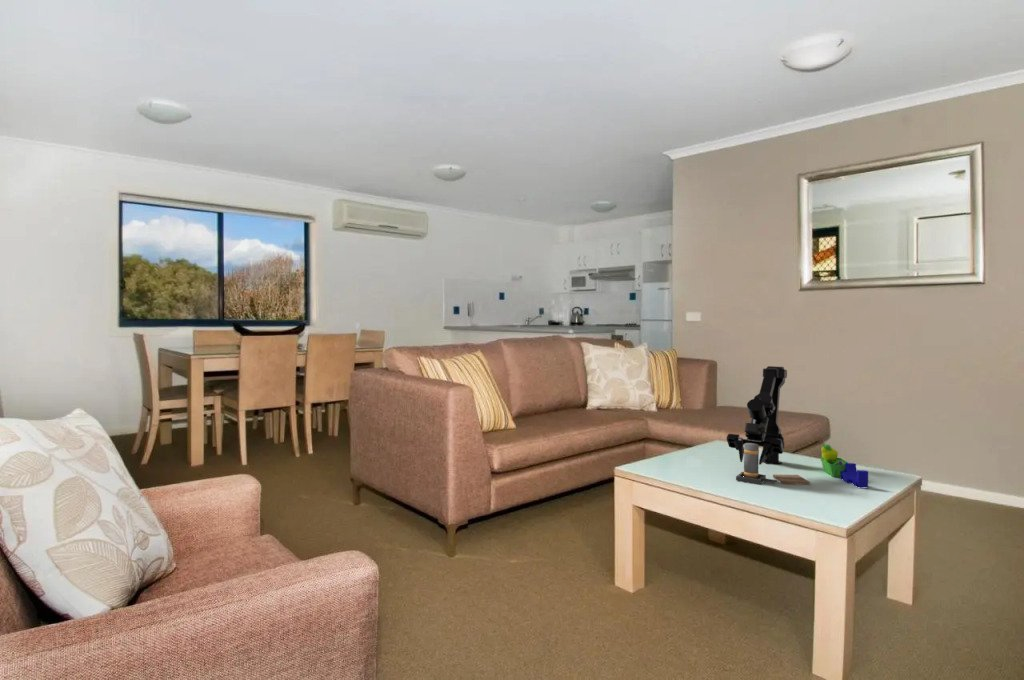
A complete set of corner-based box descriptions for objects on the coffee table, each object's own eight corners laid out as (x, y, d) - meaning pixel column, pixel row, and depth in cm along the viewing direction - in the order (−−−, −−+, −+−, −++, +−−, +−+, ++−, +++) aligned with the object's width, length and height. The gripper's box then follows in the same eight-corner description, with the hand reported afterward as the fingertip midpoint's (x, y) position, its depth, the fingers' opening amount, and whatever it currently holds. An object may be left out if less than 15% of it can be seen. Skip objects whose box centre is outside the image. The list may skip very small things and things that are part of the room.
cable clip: (840, 479, 211) (840, 462, 211) (854, 479, 211) (854, 463, 210) (853, 488, 200) (853, 470, 199) (867, 489, 199) (868, 471, 199)
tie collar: (742, 475, 214) (742, 471, 214) (778, 481, 207) (778, 477, 207) (736, 480, 208) (736, 476, 208) (773, 486, 200) (773, 482, 200)
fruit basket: (853, 479, 211) (853, 448, 210) (826, 478, 212) (827, 447, 212) (840, 471, 222) (840, 441, 222) (815, 470, 223) (816, 441, 223)
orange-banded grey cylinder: (741, 478, 211) (742, 442, 211) (755, 478, 211) (755, 443, 211) (746, 481, 206) (746, 445, 206) (760, 482, 206) (761, 445, 206)
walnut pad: (772, 477, 213) (772, 474, 213) (797, 477, 212) (797, 474, 212) (783, 484, 204) (783, 481, 204) (809, 484, 203) (809, 481, 203)
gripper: (728, 411, 217) (719, 446, 208) (782, 416, 206) (775, 453, 197) (733, 429, 223) (725, 463, 215) (786, 435, 212) (779, 471, 204)
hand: (750, 462), depth 207 cm, fingers open, 6 cm apart
